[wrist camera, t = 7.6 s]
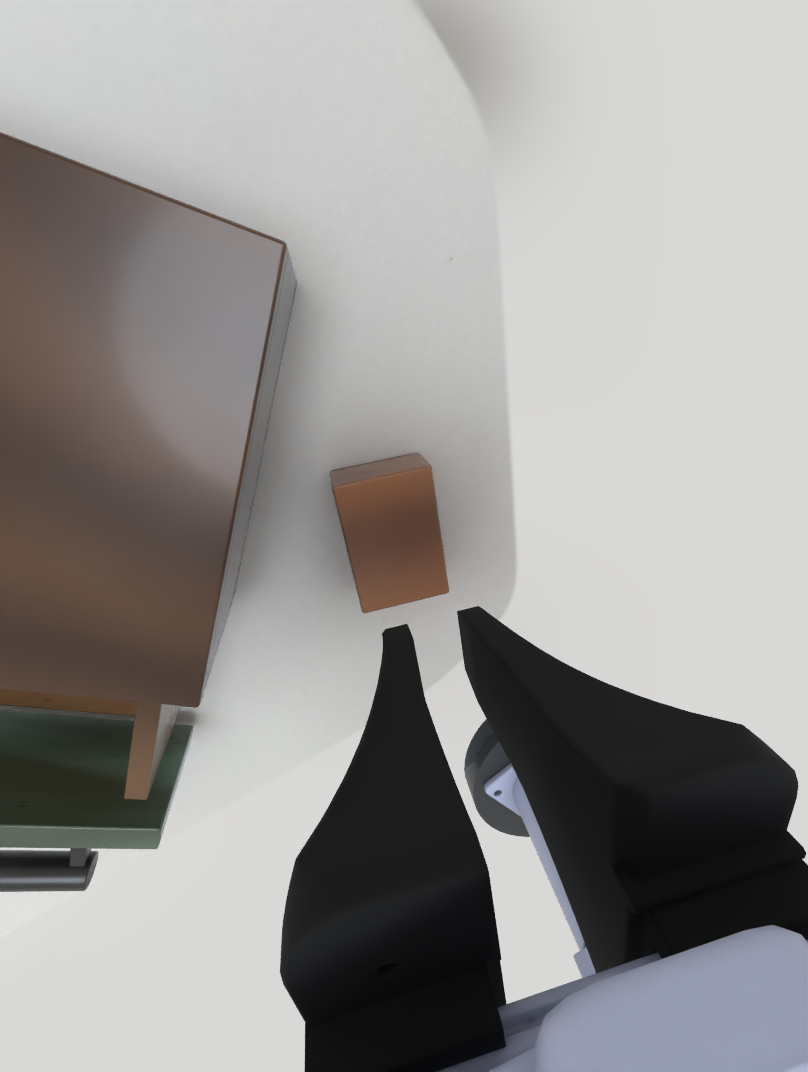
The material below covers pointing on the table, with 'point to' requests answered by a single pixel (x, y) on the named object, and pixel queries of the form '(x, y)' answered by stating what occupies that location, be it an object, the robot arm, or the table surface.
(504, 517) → the table surface
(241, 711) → the table surface
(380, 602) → the brown rectangular block
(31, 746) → the drawer
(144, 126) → the table surface
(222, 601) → the cabinet
